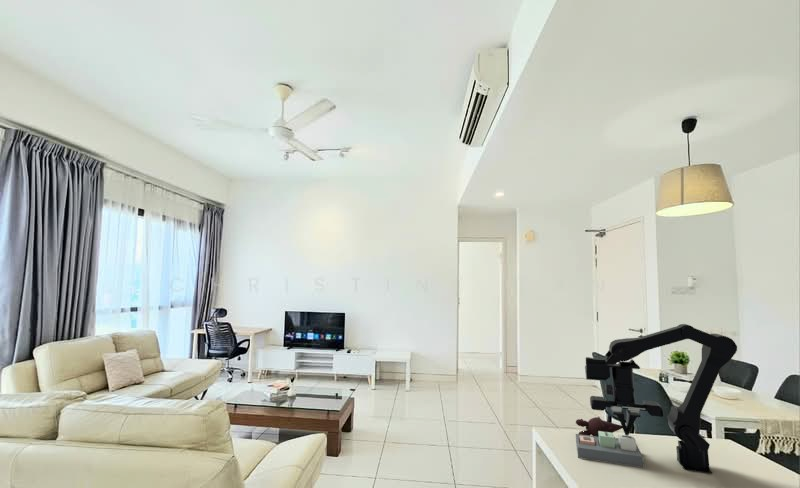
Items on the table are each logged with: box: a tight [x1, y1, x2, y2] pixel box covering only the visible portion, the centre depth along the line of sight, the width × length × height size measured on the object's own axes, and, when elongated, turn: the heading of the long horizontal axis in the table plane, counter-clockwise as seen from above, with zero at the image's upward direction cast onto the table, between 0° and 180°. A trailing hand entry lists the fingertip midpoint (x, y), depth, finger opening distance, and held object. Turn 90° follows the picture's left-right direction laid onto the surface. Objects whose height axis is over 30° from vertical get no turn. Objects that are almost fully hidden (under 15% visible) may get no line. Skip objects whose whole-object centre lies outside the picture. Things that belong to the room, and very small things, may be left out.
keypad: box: [575, 433, 645, 468], centre depth 116 cm, size 17×11×3 cm, turn 68°
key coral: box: [580, 436, 595, 446], centre depth 118 cm, size 4×4×4 cm
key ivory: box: [617, 433, 637, 451], centre depth 114 cm, size 4×4×4 cm
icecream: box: [575, 416, 623, 437], centre depth 129 cm, size 7×7×15 cm
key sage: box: [598, 431, 616, 448], centre depth 116 cm, size 4×4×4 cm
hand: (626, 434), depth 114 cm, fingers closed
